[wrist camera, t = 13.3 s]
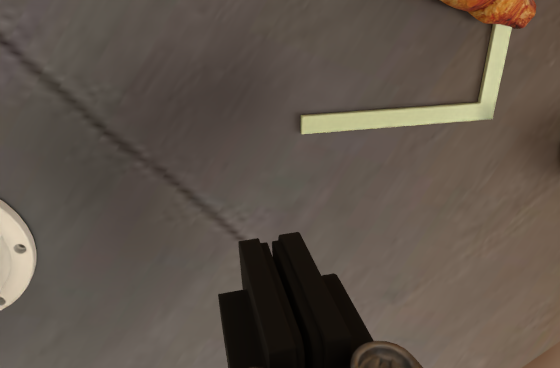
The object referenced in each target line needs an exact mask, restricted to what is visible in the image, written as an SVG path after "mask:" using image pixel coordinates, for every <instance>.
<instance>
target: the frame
mask: <svg viewBox="0 0 560 368" xmlns="http://www.w3.org/2000/svg"><path fill="white" fill-rule="evenodd" d="M511 29H512V27H509V26H505V25H501V24H493V26H492V31H491V37H490V42H489V47H488V52H487V57H486V62H485V67H484V72H483V77H482V82H481V87H480V93H479V98H478V102H475V103H461V104H448V105H434V106H420V107H406V108H392V109H378V110H365V111H351V112H337V113H323V114H309V115H301V126H300V133H301V134H311V133H323V132H336V131H348V130H361V129H373V128H386V127H399V126H411V125H424V124H436V123H449V122H461V121H474V120H486V119H492V118H493V113H494V108H495V104H496V99H497V94H498V90H499V85H500V80H501V76H502V71H503V67H504V62H505V57H506V53H507V48H508V43H509V39H510V34H511Z"/></svg>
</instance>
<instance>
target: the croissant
mask: <svg viewBox="0 0 560 368" xmlns="http://www.w3.org/2000/svg"><path fill="white" fill-rule="evenodd" d="M440 1H442V2H444V3H445V4H447V5H449V6H452V7H454V8H456V9H460V10H464V11H468V12H469V13H470V14H471V15H472V16H473V17H475V18H476V19H477V20H479V21H481V22H483V23H487V24H501V25H505V26H509V27H512V28H514V29H519V28H523V27H525V26H526V25H527V23H528V22H529V21H530V20H531V19H532V18H533V17H534V16H535V12H536V4H535V2H534V1H533V0H440Z"/></svg>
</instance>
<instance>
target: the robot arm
mask: <svg viewBox="0 0 560 368" xmlns="http://www.w3.org/2000/svg"><path fill="white" fill-rule="evenodd" d="M272 253H273V257H272V254H271V252H270V249H269V246H268V244H267V242H266V243H260V241H259V239H258V238H257V239H251V240H245V241H239V254H240V265H241V275H242V286H243V290H239V291H234V292H228V293H223V294H218V297H219V305H220V313H221V321H222V328H223V335H224V342H225V349H226V355H227V362H228V368H423V367H422V366H421V365H420V364H419V362H418V361H417V360H416V359H415V358H414V357H413V355H411V354H410V353H409V352H408V351H407V350H406V349H404V348H402V347H401V346H399V345H397V344H394V343H390V342H387V341H373V339H372V337H371V335H370V334H369V332H368V330H367V328H366V326H365V325H364V323H363V321H362V319H361V317H360V316H359V314H358V312H357V310H356V308H355V307H354V305H353V303H352V301H351V299H350V298H349V296H348V294H347V292H346V290H345V289H344V287H343V285H342V283H341V281H340V280H339V278H338V277H337V275H336V274H329V275H323V276H321V274H320V272H319V270H318V269H317V267H316V265H315V263H314V261H313V259H312V257H311V255H310V253H309V251H308V249H307V247H306V245H305V243H304V241H303V239H302V237H301V235H300V233H299V232H295V233H289V234H283V235H279V238H278V241H273V242H272ZM35 266H36V247H35V243H34V239H33V236H32V234H31V233H30V231H29V229H28V227H27V225H26V224H25V222H24V221H23V220H22V219H21V217H20V216H19V215H18V214H17V213H16V212H15V211H14V210H13V209H12V208H11V207H9V206H8V205H7V204H6V203H5V202H3V201H2V200H0V310H2V309H4V308H5V307H7V306H9V305H11V304H12V303H13V302H14V301H15V300H16V299H17V298H19V297H20V296H21V294H22V293H23V292H24V290H25V289H26V288H27V286H28V284H29V282H30V280H31V278H32V276H33V274H34V270H35Z"/></svg>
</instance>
